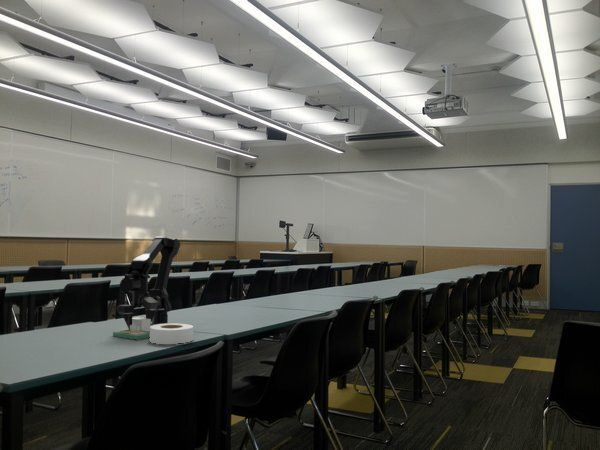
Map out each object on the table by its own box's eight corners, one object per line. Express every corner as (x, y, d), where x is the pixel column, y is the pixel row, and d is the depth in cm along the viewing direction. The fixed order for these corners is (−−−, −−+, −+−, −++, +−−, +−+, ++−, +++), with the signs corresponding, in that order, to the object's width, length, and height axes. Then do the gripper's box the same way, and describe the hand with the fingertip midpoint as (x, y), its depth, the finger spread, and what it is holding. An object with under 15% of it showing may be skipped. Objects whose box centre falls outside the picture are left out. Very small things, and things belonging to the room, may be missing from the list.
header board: (113, 336, 204) (113, 325, 204) (132, 332, 212) (132, 322, 212) (137, 340, 196) (137, 329, 197) (155, 336, 204) (156, 325, 204)
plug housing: (128, 330, 216) (128, 318, 216) (137, 329, 220) (137, 317, 220) (141, 332, 212) (141, 320, 212) (150, 331, 216) (150, 319, 216)
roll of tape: (193, 337, 206) (193, 322, 206) (192, 344, 190) (192, 329, 190) (151, 337, 203) (152, 323, 203) (147, 345, 187) (147, 330, 188)
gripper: (134, 293, 204) (133, 333, 204) (171, 289, 220) (170, 327, 219) (116, 291, 210) (115, 330, 210) (153, 288, 226) (152, 324, 225)
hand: (139, 328), depth 216 cm, fingers open, 9 cm apart
